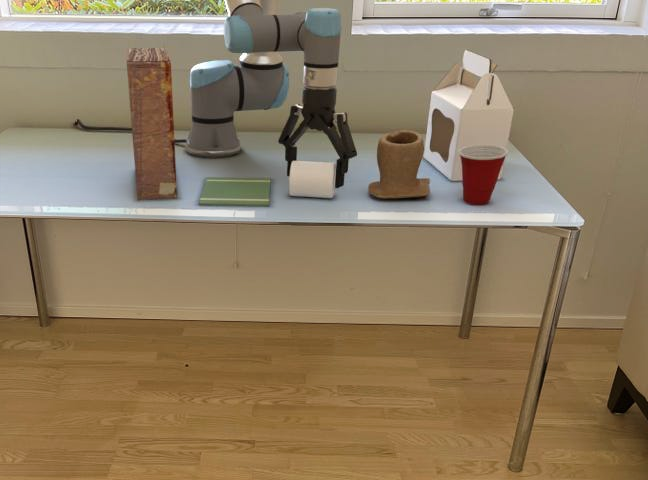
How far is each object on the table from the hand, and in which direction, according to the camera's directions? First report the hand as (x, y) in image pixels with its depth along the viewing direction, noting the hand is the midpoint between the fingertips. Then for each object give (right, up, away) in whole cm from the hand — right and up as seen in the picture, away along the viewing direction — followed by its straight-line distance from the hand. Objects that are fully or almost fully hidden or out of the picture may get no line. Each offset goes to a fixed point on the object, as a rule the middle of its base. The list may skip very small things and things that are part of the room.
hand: (314, 180), depth 171 cm
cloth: (-19, -2, +2) cm, 19 cm away
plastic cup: (+37, -6, -3) cm, 37 cm away
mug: (0, -3, +2) cm, 3 cm away
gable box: (+40, +8, +20) cm, 46 cm away
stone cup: (+20, -4, 0) cm, 21 cm away
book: (-39, +1, +8) cm, 39 cm away
